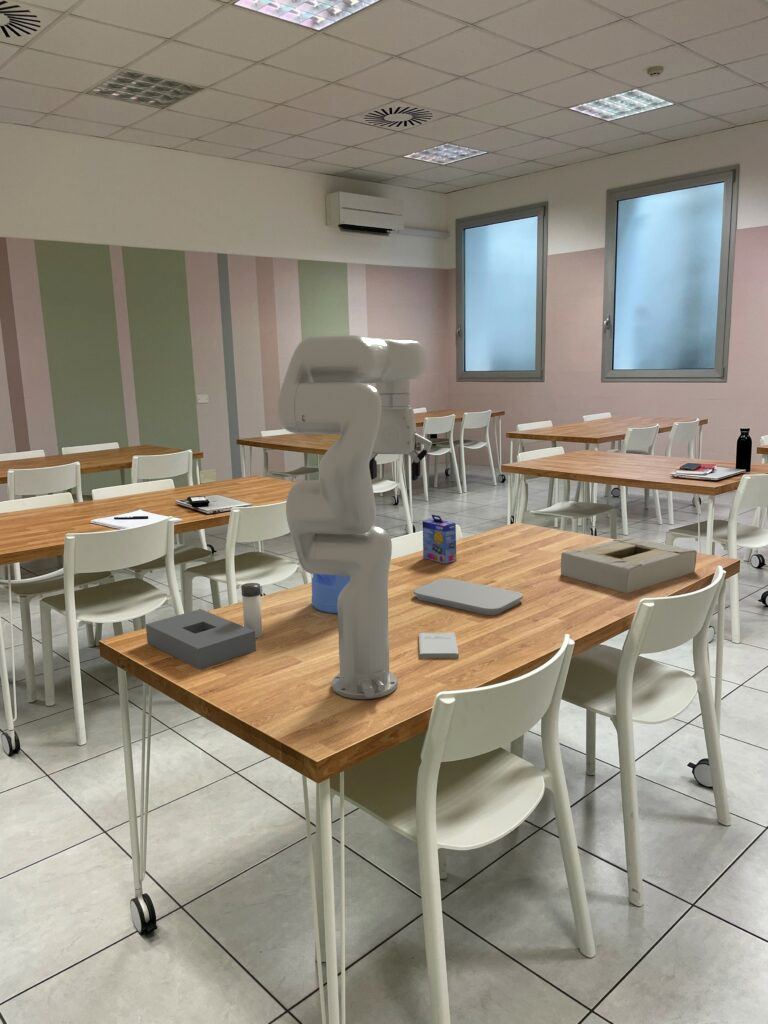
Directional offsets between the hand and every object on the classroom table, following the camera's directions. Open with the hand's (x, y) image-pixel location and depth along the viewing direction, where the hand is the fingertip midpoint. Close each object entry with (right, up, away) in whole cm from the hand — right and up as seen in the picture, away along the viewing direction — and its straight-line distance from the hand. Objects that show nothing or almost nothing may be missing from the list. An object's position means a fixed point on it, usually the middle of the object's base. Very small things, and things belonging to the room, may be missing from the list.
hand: (394, 479), depth 169 cm
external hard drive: (+10, -37, -4) cm, 39 cm away
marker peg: (-32, -36, +5) cm, 48 cm away
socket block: (-43, -37, -1) cm, 57 cm away
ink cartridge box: (+15, -22, +68) cm, 73 cm away
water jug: (-13, -31, +26) cm, 43 cm away
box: (+68, -26, +49) cm, 87 cm away
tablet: (+19, -31, +28) cm, 46 cm away
